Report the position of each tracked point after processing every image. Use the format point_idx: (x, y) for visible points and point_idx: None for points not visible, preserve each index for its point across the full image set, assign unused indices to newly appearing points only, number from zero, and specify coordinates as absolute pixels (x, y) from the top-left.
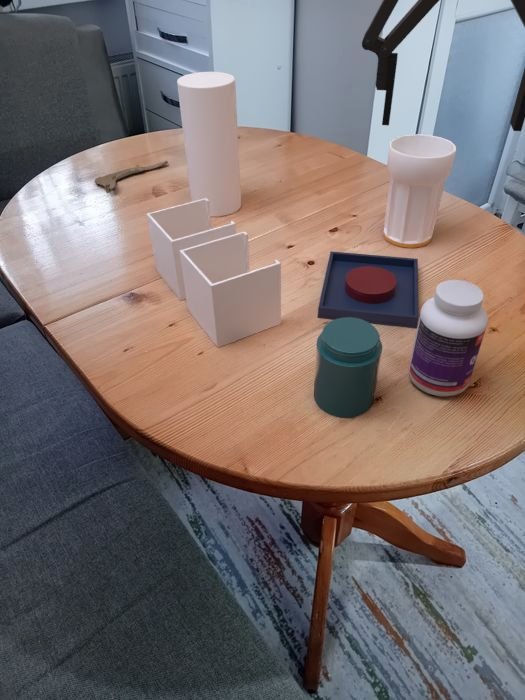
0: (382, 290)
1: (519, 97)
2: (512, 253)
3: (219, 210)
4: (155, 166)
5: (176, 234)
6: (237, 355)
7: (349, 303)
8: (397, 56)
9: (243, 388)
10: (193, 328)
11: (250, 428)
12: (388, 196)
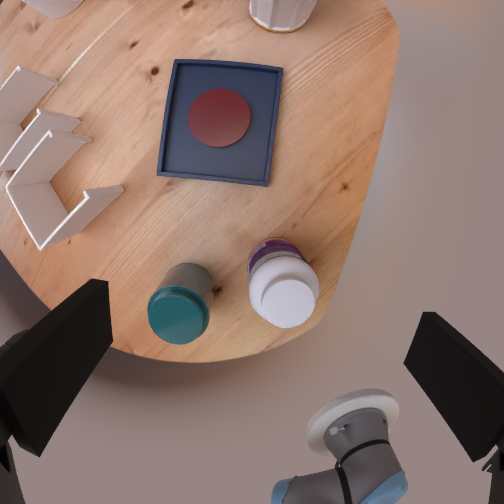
0: (230, 139)
1: (446, 375)
2: (390, 56)
3: (64, 11)
4: None
5: (13, 103)
6: (95, 242)
7: (194, 149)
8: (23, 431)
9: (109, 282)
10: None
11: (125, 321)
12: None
